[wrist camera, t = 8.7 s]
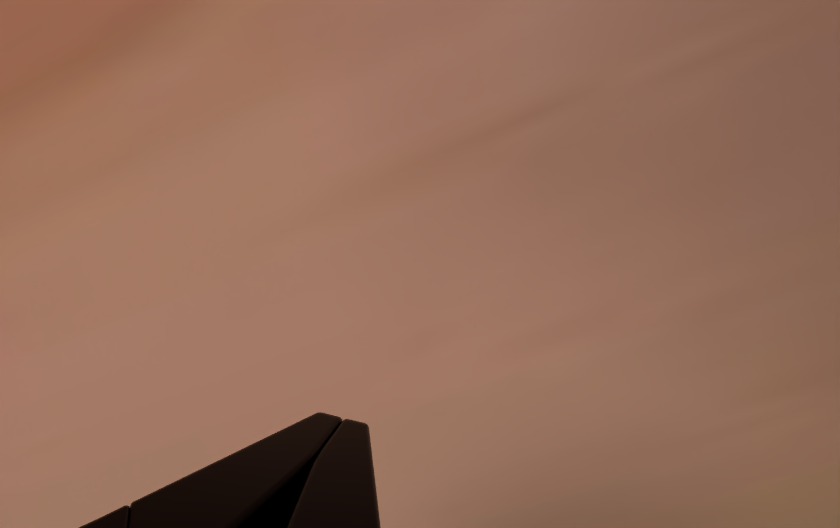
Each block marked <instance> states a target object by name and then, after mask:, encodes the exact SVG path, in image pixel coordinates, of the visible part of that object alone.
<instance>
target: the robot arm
mask: <svg viewBox="0 0 840 528" xmlns="http://www.w3.org/2000/svg"><path fill="white" fill-rule="evenodd" d="M79 528H380V519H379V511H378V502H377V494H376V485H375V477H374V468H373V460H372V451H371V443H370V434H369V427H368V425H367V424H365V423H362V422H358V421H353V420H349V419H345V420H343V421H342V419H341V418H340V417H337V416H333V415H329V414H325V413H321V412H320V413H316V414H314V415H312V416H310V417H308V418H305V419H303V420H301V421H299V422H297V423H295V424H293V425H291V426H289V427H287V428H285V429H283V430H281V431H279V432H277V433H274V434H272V435H270V436H268V437H266V438H264V439H262V440H260V441H258V442H256V443H254V444H252V445H250V446H248V447H246V448H244V449H241V450H239V451H237V452H235V453H233V454H231V455H229V456H227V457H225V458H223V459H221V460H219V461H217V462H215V463H213V464H211V465H208V466H206V467H204V468H202V469H200V470H198V471H196V472H194V473H192V474H190V475H188V476H186V477H184V478H182V479H180V480H177V481H175V482H173V483H171V484H169V485H167V486H165V487H163V488H161V489H159V490H157V491H155V492H153V493H151V494H149V495H147V496H144V497H142V498H140V499H138V500H136V501H134V502H132V503H131V506H130V507H129V506H123V507H121V508H119V509H117V510H115V511H113V512H111V513H109V514H107V515H105V516H103V517H101V518H99V519H96V520H94V521H92V522H90V523H88V524H86V525H83V526H81V527H79Z"/></svg>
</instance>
